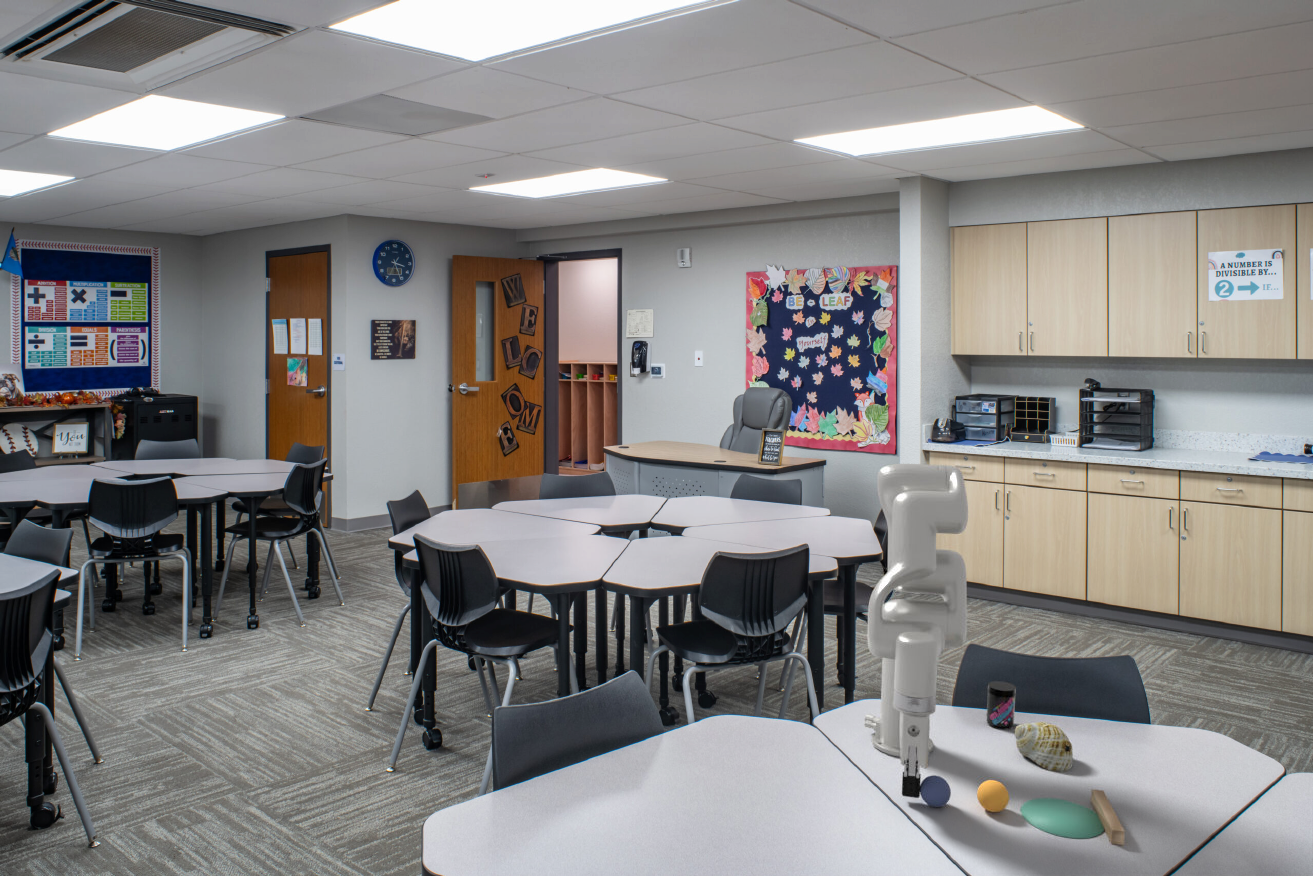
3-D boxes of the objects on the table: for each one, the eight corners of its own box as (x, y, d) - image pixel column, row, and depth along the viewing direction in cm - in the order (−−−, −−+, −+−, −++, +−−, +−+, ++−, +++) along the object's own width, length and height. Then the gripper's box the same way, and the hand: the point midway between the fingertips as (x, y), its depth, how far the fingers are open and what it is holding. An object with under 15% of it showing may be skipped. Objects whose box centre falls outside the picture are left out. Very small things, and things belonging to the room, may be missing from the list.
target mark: (1027, 833, 166) (1027, 832, 166) (1015, 795, 179) (1015, 794, 179) (1113, 843, 163) (1113, 841, 163) (1094, 803, 176) (1094, 802, 176)
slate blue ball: (910, 784, 175) (936, 771, 173) (919, 781, 179) (944, 769, 178) (926, 814, 172) (952, 801, 171) (934, 810, 177) (959, 797, 175)
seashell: (1084, 770, 189) (1062, 725, 188) (1036, 787, 191) (1014, 743, 190) (1070, 745, 199) (1049, 702, 198) (1024, 762, 201) (1003, 719, 200)
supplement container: (982, 725, 212) (984, 686, 211) (990, 717, 216) (992, 679, 215) (1009, 732, 208) (1011, 693, 207) (1017, 724, 213) (1019, 685, 212)
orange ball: (971, 810, 173) (972, 782, 173) (983, 800, 178) (985, 772, 177) (1001, 821, 170) (1002, 792, 169) (1012, 809, 174) (1014, 781, 173)
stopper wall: (1111, 844, 163) (1112, 830, 162) (1090, 802, 177) (1091, 789, 177) (1123, 845, 162) (1124, 831, 162) (1102, 803, 177) (1103, 790, 176)
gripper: (936, 718, 166) (932, 817, 168) (935, 688, 181) (931, 780, 183) (892, 713, 168) (888, 811, 170) (894, 684, 183) (891, 774, 184)
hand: (910, 795), depth 176 cm, fingers closed
